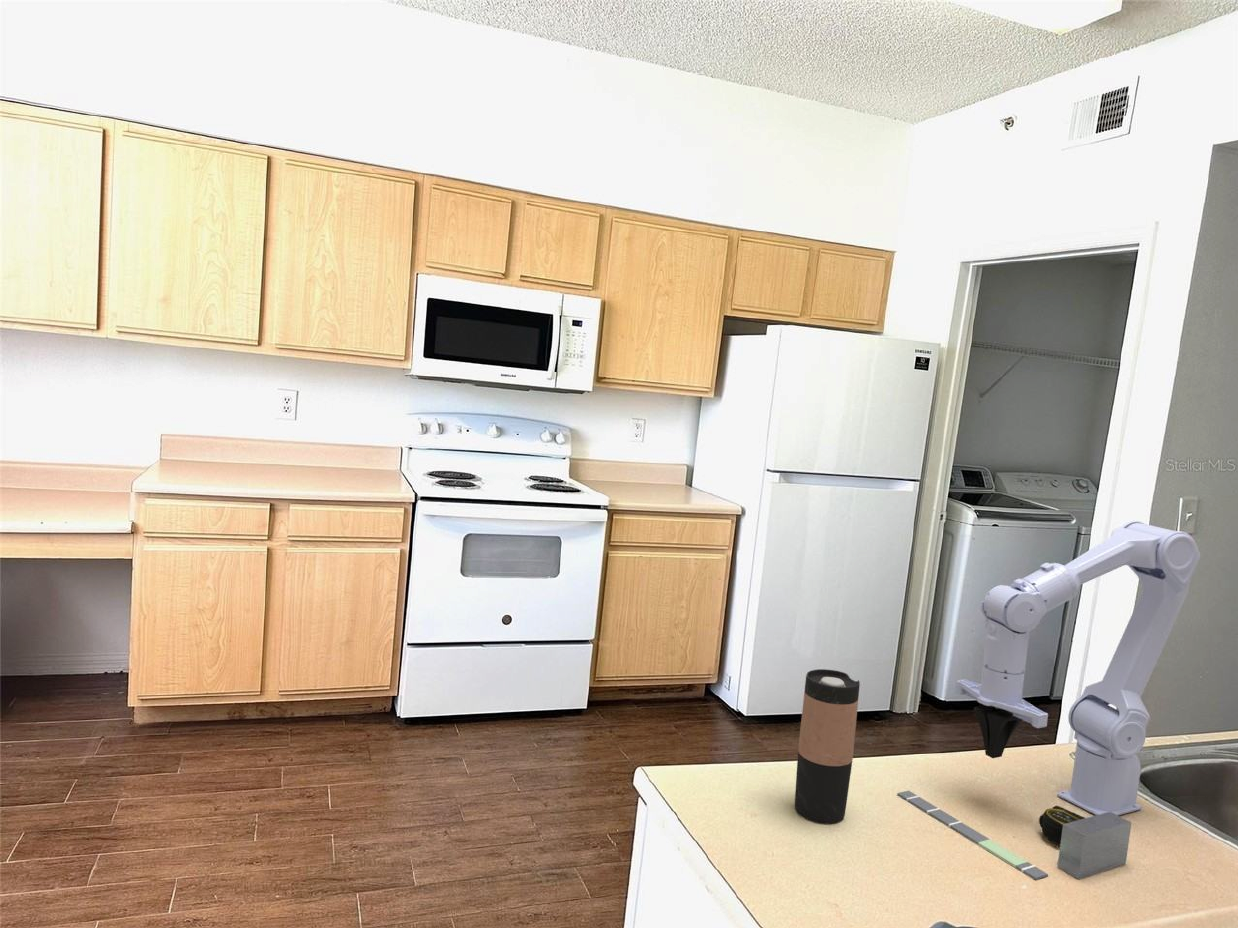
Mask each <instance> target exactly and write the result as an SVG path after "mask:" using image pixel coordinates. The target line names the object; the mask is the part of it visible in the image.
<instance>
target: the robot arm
mask: <svg viewBox="0 0 1238 928" xmlns="http://www.w3.org/2000/svg"><path fill="white" fill-rule="evenodd" d="M1201 556H1202V555H1201V552H1200V551H1199V548H1198V546H1197V544H1196V542H1195V540H1194V538H1193V536H1191V534H1189V533H1188V532H1185V531H1180V530H1172V529H1167V528H1163V527H1159V526H1155V525H1151V524H1147V523H1144V522H1141V521H1139V520H1137V521H1135V520H1133V521H1128V522H1126V523H1124V524H1123V525H1122V526H1120V527H1117V528H1114V529H1113V530H1112V532H1111V535H1110V537H1108V538H1106V539H1105V540H1103V541H1102V542H1100V543H1099V544H1097V545H1095V546H1093V547H1092V548H1091V549H1089V550H1087V551H1086V552H1084V553H1082V554H1080V555H1079V556H1078V557H1076V558H1075V559H1073V560H1071V561H1069V562H1068V563H1066V564H1064V565H1063V564H1061V563H1058V562H1052V563H1050V562H1045V563H1042V564H1041V565H1040V566H1039V568H1040V569H1038V570H1036V571H1033V573H1031V574H1028V575H1027V576H1025V577H1022V578H1017V579H1015V580H1014V581H1013V583H1011V584H1010V585H1006V584H1005V585H1004V584H1000V585H997V586H994V587H993V588H991V589H990V590H989V591H988V592H987V593H986V594H985V596H984V600H982V601H980V611H981V612H982V615H983V616H984V618H985V619H984V620H985V629H986V635H985V641H984V644H985V645H984V651H983V662H982V670H981V680H980V683H977V682H974V681H971V680H968V679H966V678H965V679H959V680H956V686H955V693H957V694H958V695H965V696H966V697H969V698H972V699H974V700H976V702H977V703H979V704H978V705H977V706H974V707H973V713H974V716H975V717H976V719H977V722H978V724H979V727H980V731H981V733H982V739H983V745H984V746H983V747H984V752H985V753H984V754H985V756H987V757H989V758H991V759H996V758H1001V757H1002V756H1003V754H1004V751H1005V748H1006V746H1007V744H1008V742H1009V740H1010V738H1011V736H1012V735H1013V733H1014V732H1015V731H1016V729H1017V727H1018V726H1019V725H1020V724H1021V723H1022V722H1023V721H1024V722H1027V723H1029V724H1031V726H1032V727H1034V728H1036V729H1041V728H1046V727H1047V726H1048V719H1049V718H1048V717H1049V713H1048V712H1045V711H1043V710H1041V709H1040V708H1037V707H1036V706H1034V705H1033V704H1031V703H1030V702H1028V701H1027V700H1025V699H1024V698H1023V690H1024V682H1025V675H1026V674H1025V673H1026V672H1025V671H1026V665H1027V658H1028V657H1027V656H1028V649H1029V648H1028V646H1029V639H1030V632H1031V631H1033V630H1035V629H1036V628H1037V626H1038V625H1039V624H1040V622H1041V619H1042V618H1043V616H1046V615H1047V614H1046V613H1048V612H1050V611H1051V610H1053V609H1055V608H1057V607H1059V606H1061V605H1063V604H1065V603H1066V602H1068V601H1071V600H1072V599H1074V598H1076V597H1077V596H1078V593H1079V590H1080V585H1083V584H1085V583H1088V582H1090V581H1092V580H1095V579H1096V578H1100V577H1101V576H1103V575H1106V574H1108V573H1110V572H1113V571H1114V570H1117V569H1119V568H1121V567H1123V566H1127V567H1129V568H1130V570H1131V571H1132V572H1133V573H1134V574H1135V575H1136V577H1137V578H1138V580H1139V582H1140V585H1141V586H1142V591H1141V594H1140V595H1139V598H1138V600H1137V602H1136V605H1135V607H1134V609H1133V610H1132V611H1133V612H1132V613H1131V616H1130V618H1129V620H1128V623H1127V625H1126V626H1125V629H1124V632H1123V634H1122V635H1121V639H1120V640H1119V643H1118V645H1117V647H1116V649H1115V651H1114V654H1113V655H1112V658H1111V661H1110V663H1109V665H1108V667H1107V669H1106V671H1105V673H1104V676H1103V678H1102V680H1100V681H1098V682H1095V683H1092V684H1091V683H1090V684H1089V685H1087V686H1085V687H1084V690H1083V692H1082V694H1081V695H1080V697H1079V698H1078V699H1076V700H1075V701H1074V702H1073V704H1071V707H1070V709H1069V710H1068V717H1067V719H1068V724H1069V726H1070V728H1071V729H1072V730H1073V732H1074V735H1073V736H1074V737H1073V738H1074V739H1075V740H1076V746H1075V755H1074V759H1073V760H1074V761H1073V769H1072V777H1071V784H1070V789H1065V790H1062V791H1058V792H1057V793H1056V794H1057V796H1058V797H1059V798H1061V799H1064V800H1065V801H1068V802H1069V803H1071V804H1074V805H1076V806H1077V807H1078V808H1081V809H1084V810H1085V811H1087V812H1089V813H1091V814H1093V815H1094V816H1096V815H1099V814H1103V813H1107V812H1112V813H1114V814H1116V815H1118V816H1121V815H1124V814H1127V813H1131V812H1135V811H1139V810H1141V809H1142V807H1143V806H1142V805H1141V804H1139V803H1137V798H1138V790H1139V783H1140V776H1141V768H1142V767H1141V762H1140V758H1139V757H1138V756H1137V754H1138V753H1139V752H1140V751H1141V750H1142V748H1143V747H1144V744H1145V741H1146V738H1147V735H1146V733H1147V726H1148V724H1149V721H1150V718H1151V716H1150V714H1149V712H1148V709H1147V707H1146V706H1145V704H1144V702H1143V700H1142V696H1143V693H1144V691H1145V688H1146V687H1147V684H1148V682H1149V681H1150V677H1151V676H1152V674H1153V671H1154V670H1155V667H1156V665H1157V662H1158V660H1159V658H1160V656H1161V654H1162V651H1163V649H1164V647H1165V644H1166V642H1167V640H1168V638H1169V636H1170V633H1171V632H1172V629H1173V628H1174V625H1175V622H1176V620H1177V618H1178V616H1179V614H1180V611H1181V609H1182V607H1183V604H1184V603H1185V600H1186V598H1187V596H1188V593H1189V589H1190V584H1191V583H1190V582H1191V579H1192V577H1193V574H1194V572H1195V569H1196V568H1197V566H1198V563H1199V561H1200V559H1201ZM1110 705H1112V706H1114V707H1112V706H1110Z"/></svg>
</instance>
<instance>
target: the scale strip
mask: <svg viewBox="0 0 1238 928" xmlns="http://www.w3.org/2000/svg"><path fill="white" fill-rule="evenodd" d="M896 794H897V796H898V797H900V798H901V799H903V800H905V801H906V802H908V803H909V804H911V805H912V806H914V807H916V808H918V809H920V810H921V811H923V812H924V813H926V814H927V815H929V816H930V817H933V818H934V819H935V820H937V821H938V822H940V823H942V824H944V825H946V826H947V827H948V828H949V829H952V830H953V831H955V832H957V833H958V834H960V835H962V836H964V837H965V838H966V839H968V840H969V841H971V842H973V843H975V844H976V845H978V846H979V847H981V848H982V849H984V850H986V851H987V852H989V853H991V854H992V855H994V856H995V857H997V858H999V859H1000V860H1001V861H1004V862H1005V863H1006V864H1008V865H1010V866H1011V867H1014V868H1015V869H1017V870H1018V871H1019V872H1021V873H1023V874H1025V875H1026V876H1028V877H1030V878H1032V879H1033V880H1035V881H1038V880H1040V879H1044V878H1047V877H1049V874H1048V873H1047V872H1045V871H1044V870H1042V869H1040V868H1038V867H1037V866H1036V865H1035V864H1032V863H1031V862H1029V861H1027V860H1026V859H1024V858H1023V857H1021V856H1019V855H1018V854H1015V852H1013V851H1011V850H1010V849H1008V848H1006V847H1004V845H1003V846H1002V845H1001V844H999V843H998V842H996V841H994V840H993V839H990V838H988V837H987V836H985V835H984V834H982V833H980V832H978V831H977V830H975V829H974V828H972V827H970V826H969V825H968V824H965V823H964V822H962V821H961V820H959V819H957V818H955V817H954V816H952V815H950V814H949V813H947V812H945V811H944V810H942V809H941V808H940V807H937V806H935V805H933V804H932V803H930V802H929V801H927V800H925V799H924V798H922V797H921V796H920V795H917V794H915V793H914V792H912V791H911V790H905V791H900V792H897V793H896Z"/></svg>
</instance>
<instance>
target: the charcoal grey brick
mask: <svg viewBox="0 0 1238 928" xmlns="http://www.w3.org/2000/svg"><path fill="white" fill-rule="evenodd" d="M1084 818H1085V819H1081V820H1077V821H1074V822H1070V823H1066V824H1063V829H1062V836H1061V844H1060V845H1059V854H1058V858H1057V860H1058V861H1057V868H1058V869H1059V870H1062V871H1063V872H1065V873H1066V874H1068V875H1070V876H1071V877H1073V878H1075V879H1077V880H1082V879H1085V878H1087V877H1091V876H1094V875H1097V874H1101V873H1103V872H1107V871H1109V870H1113V869H1116V868H1119V867H1122V866H1125V865H1126V864H1127V858H1128V850H1129V843H1130V836H1131V835H1130V834H1131V829H1132V821H1131V820H1128V819H1126V818H1123V817H1122V816H1121V815H1116V814H1114V813H1112V812H1107V813H1103V814H1099V815H1093V816H1089V817H1084Z"/></svg>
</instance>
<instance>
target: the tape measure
mask: <svg viewBox="0 0 1238 928" xmlns="http://www.w3.org/2000/svg"><path fill="white" fill-rule="evenodd" d="M1085 818H1086V817H1084V816H1082V815H1080V814H1078V813H1075V812H1073V811H1070V810H1068V809H1066V808H1063V807H1062V806H1058V805H1055V806H1053V807H1052V808H1047V809H1045V811H1044V812H1043V813H1042V814H1041V815H1040V817H1039V818H1038V819H1039V820H1038V824H1039V826H1040V828H1041V833H1042V835H1043V837H1045V839H1047V840H1049V841H1050V842H1052V843H1054V844H1057V845H1058V846H1060V844H1061V836H1062V829H1063V824H1066V823H1070V822H1074V821H1077V820H1081V819H1085Z"/></svg>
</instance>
